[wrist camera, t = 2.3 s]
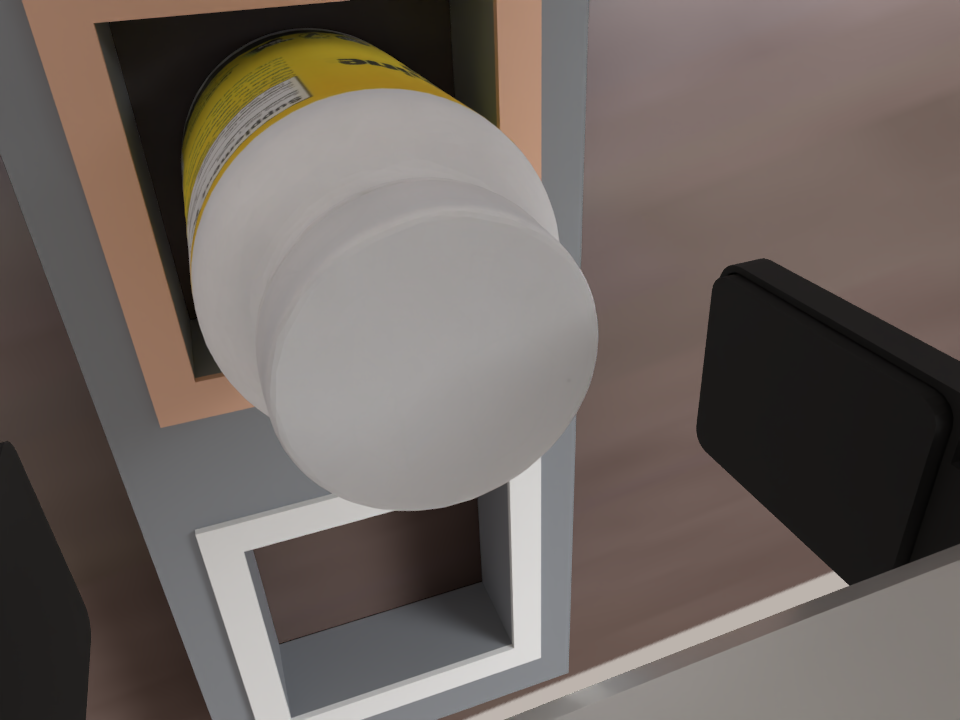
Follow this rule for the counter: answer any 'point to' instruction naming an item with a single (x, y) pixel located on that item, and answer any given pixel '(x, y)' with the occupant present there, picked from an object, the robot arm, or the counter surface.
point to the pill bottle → (379, 273)
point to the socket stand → (246, 430)
